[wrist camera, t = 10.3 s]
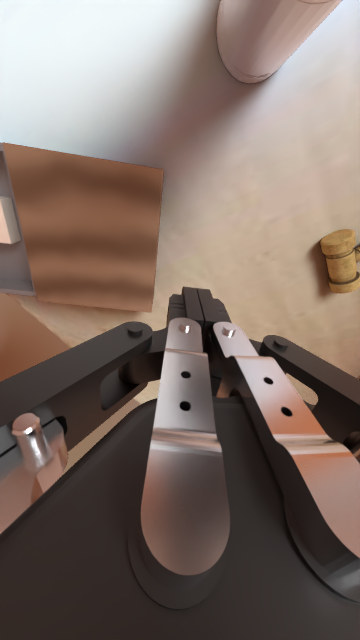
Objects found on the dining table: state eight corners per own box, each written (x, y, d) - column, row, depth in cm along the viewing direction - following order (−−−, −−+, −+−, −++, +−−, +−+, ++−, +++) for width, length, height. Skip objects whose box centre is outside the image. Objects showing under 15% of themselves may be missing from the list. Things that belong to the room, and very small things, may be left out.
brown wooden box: (31, 149, 30) (2, 142, 25) (163, 171, 32) (162, 169, 27) (54, 286, 40) (37, 301, 35) (153, 296, 42) (151, 312, 37)
